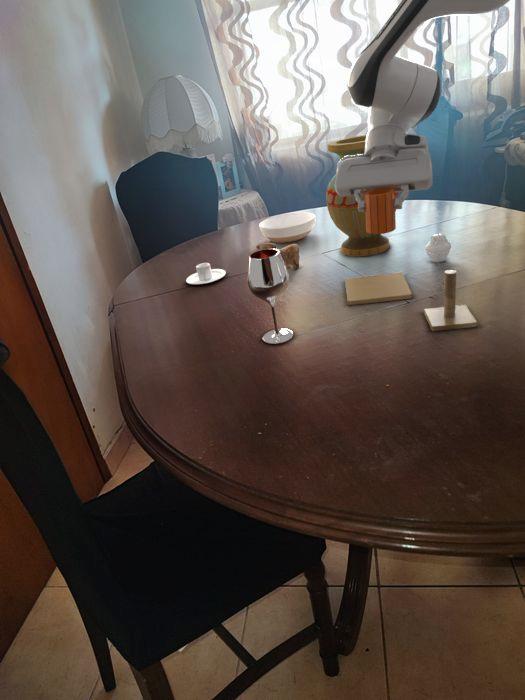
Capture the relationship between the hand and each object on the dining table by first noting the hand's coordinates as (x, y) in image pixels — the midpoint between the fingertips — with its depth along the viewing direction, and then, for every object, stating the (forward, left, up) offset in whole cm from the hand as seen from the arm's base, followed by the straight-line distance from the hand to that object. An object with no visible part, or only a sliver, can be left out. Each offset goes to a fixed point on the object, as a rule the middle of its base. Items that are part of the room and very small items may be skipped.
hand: (379, 209), depth 97 cm
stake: (-11, +16, -19) cm, 27 cm away
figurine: (+25, -23, -20) cm, 39 cm away
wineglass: (+23, +16, -20) cm, 34 cm away
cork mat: (+1, -3, -19) cm, 20 cm away
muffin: (-16, -18, -20) cm, 31 cm away
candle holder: (+48, -26, -20) cm, 58 cm away
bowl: (+25, -58, -20) cm, 66 cm away
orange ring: (0, -1, -5) cm, 5 cm away
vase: (+1, -35, -20) cm, 40 cm away
